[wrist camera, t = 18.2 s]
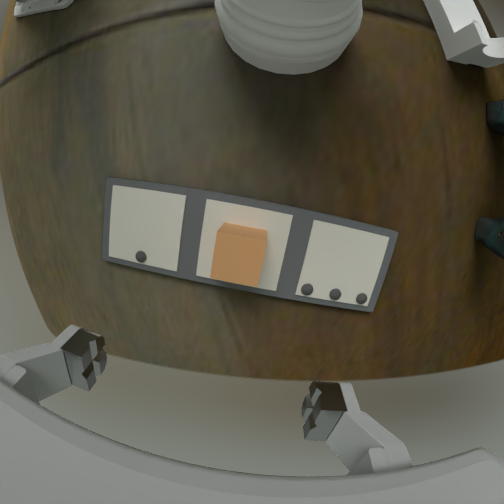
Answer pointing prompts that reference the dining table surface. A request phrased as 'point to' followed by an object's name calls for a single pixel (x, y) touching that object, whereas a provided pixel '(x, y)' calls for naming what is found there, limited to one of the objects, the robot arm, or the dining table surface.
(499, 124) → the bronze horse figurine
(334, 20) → the honey pot
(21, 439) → the robot arm
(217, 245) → the block
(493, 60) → the bracket
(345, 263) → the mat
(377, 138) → the dining table surface
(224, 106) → the dining table surface
